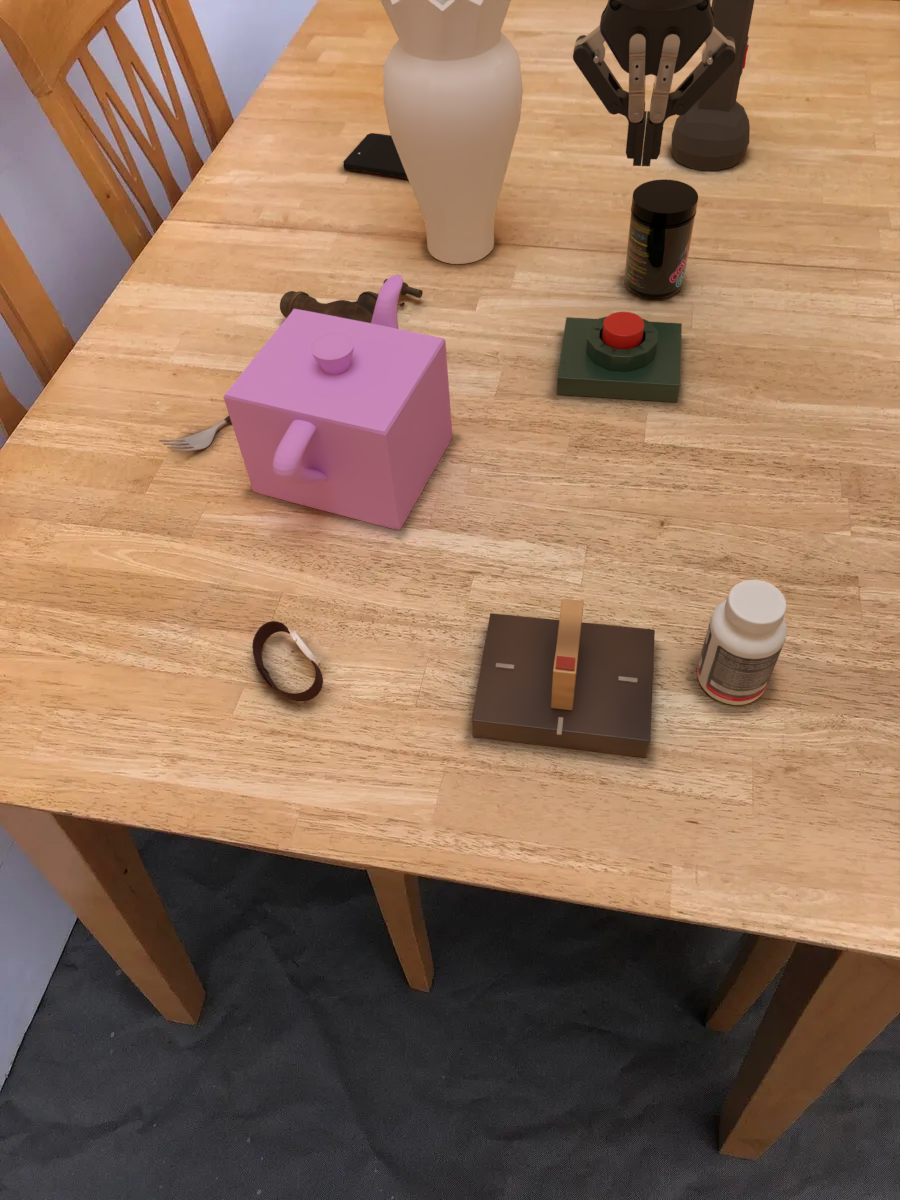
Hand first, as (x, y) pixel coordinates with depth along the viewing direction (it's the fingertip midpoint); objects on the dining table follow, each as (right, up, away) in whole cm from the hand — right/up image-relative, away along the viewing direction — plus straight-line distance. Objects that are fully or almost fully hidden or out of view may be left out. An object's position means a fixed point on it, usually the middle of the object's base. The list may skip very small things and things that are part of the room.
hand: (641, 161), depth 79 cm
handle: (-8, -43, -9) cm, 44 cm away
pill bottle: (+6, -44, -6) cm, 44 cm away
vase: (-15, +5, +33) cm, 36 cm away
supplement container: (+7, -2, +26) cm, 27 cm away
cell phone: (-21, +21, +45) cm, 54 cm away
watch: (-29, -43, -4) cm, 52 cm away
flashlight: (+18, +21, +43) cm, 51 cm away
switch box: (+1, -13, +17) cm, 22 cm away
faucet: (-26, -7, +24) cm, 36 cm away
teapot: (-25, -24, +11) cm, 36 cm away
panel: (-7, -44, -7) cm, 46 cm away
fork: (-38, -19, +16) cm, 45 cm away
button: (+1, -11, +14) cm, 18 cm away
